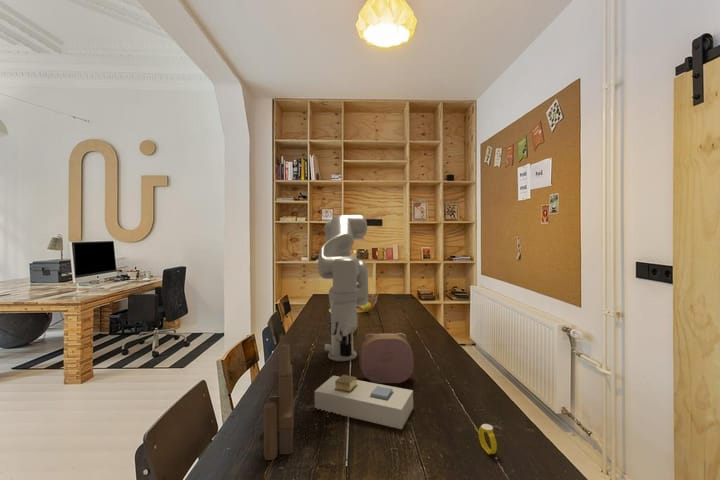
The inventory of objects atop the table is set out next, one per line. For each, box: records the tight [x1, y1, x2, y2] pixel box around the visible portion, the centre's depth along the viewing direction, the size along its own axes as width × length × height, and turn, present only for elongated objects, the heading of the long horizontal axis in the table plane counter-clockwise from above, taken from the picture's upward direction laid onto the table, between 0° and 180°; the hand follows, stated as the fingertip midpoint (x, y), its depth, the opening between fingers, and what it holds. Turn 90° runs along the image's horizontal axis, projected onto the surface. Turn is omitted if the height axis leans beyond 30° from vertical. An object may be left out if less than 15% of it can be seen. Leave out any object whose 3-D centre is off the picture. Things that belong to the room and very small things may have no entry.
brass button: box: [335, 374, 358, 393], centre depth 104 cm, size 5×5×3 cm
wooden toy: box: [262, 344, 295, 461], centre depth 86 cm, size 16×7×25 cm, turn 10°
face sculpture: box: [358, 332, 414, 384], centre depth 120 cm, size 20×7×17 cm, turn 92°
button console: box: [314, 375, 414, 430], centre depth 101 cm, size 28×12×6 cm, turn 66°
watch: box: [478, 423, 498, 455], centre depth 81 cm, size 6×3×6 cm, turn 10°
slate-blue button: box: [371, 386, 392, 401], centre depth 99 cm, size 5×5×3 cm
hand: (345, 355), depth 103 cm, fingers closed
